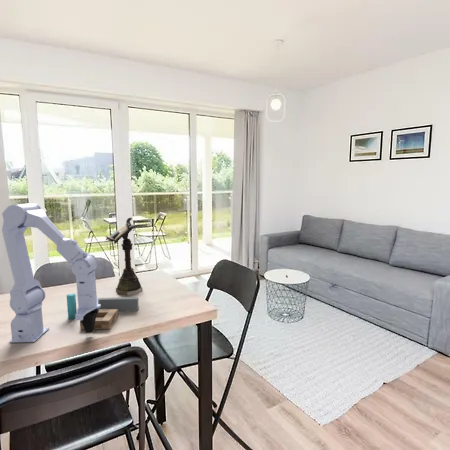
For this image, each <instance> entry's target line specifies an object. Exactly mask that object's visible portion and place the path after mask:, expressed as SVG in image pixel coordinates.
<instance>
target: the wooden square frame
mask: <svg viewBox="0 0 450 450" xmlns="http://www.w3.org/2000/svg"><path fill="white" fill-rule="evenodd" d="M118 317H119V311H118V309H99V311H98V314H97V316H96V320H95V325H94V330H110V329H111V328H112V326H113V325H114V323H115V322H116V321H117V319H118ZM79 325H80V326H79V327H80V328H79V329H80V330H85V329H84V327H83V324H82V322H81V321H80V320H79Z"/></svg>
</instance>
